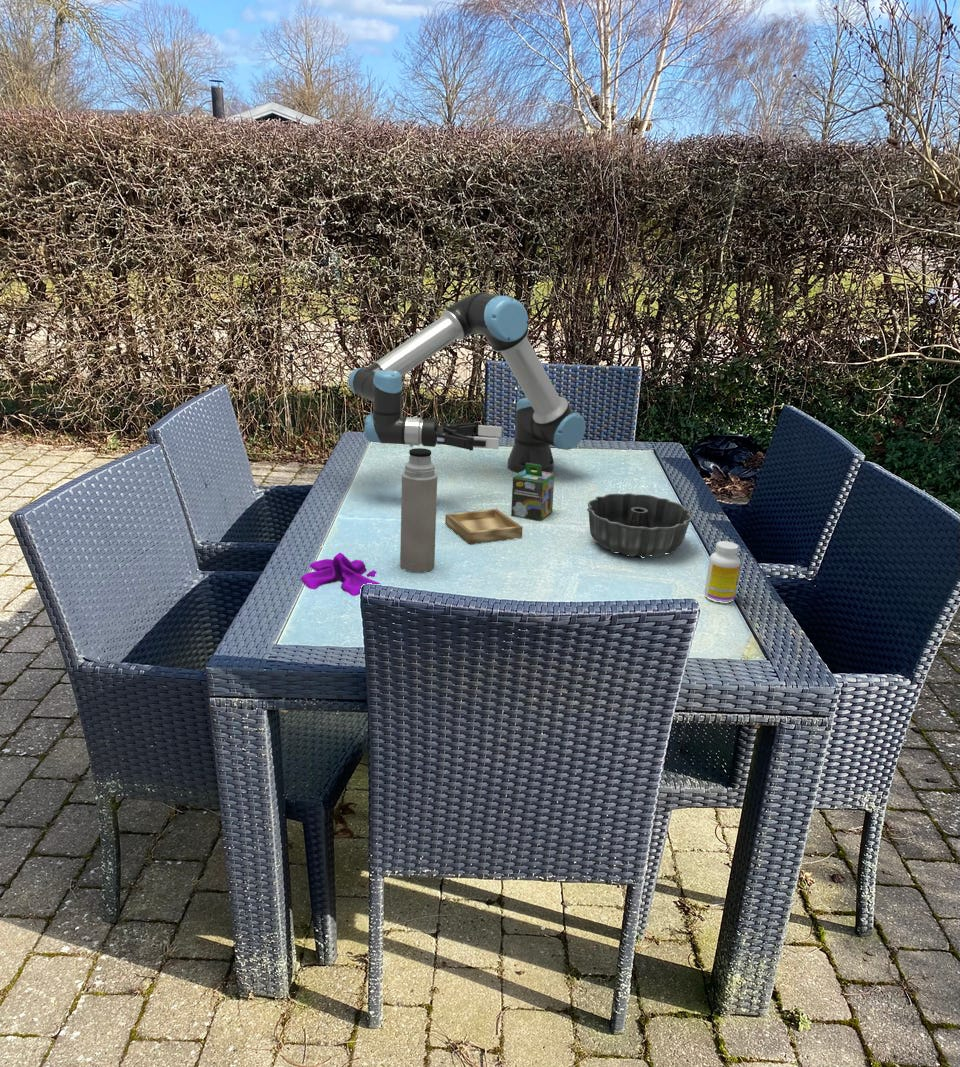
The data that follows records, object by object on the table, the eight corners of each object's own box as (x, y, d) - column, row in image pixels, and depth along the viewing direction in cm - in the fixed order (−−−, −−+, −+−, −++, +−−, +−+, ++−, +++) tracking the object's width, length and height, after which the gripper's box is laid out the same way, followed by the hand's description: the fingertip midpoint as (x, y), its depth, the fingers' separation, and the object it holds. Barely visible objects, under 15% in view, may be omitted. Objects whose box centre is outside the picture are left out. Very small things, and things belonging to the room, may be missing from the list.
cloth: (376, 599, 191) (377, 573, 189) (291, 594, 192) (290, 567, 190) (391, 561, 212) (391, 536, 210) (313, 556, 213) (313, 532, 210)
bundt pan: (679, 573, 213) (684, 533, 209) (572, 554, 221) (575, 516, 217) (694, 538, 236) (699, 502, 233) (596, 522, 244) (600, 487, 241)
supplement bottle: (738, 604, 197) (747, 550, 192) (709, 604, 196) (717, 550, 191) (728, 592, 203) (736, 539, 198) (700, 592, 202) (707, 539, 198)
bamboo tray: (495, 519, 242) (496, 508, 241) (521, 537, 229) (522, 527, 228) (445, 525, 236) (445, 514, 235) (469, 544, 223) (469, 533, 222)
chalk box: (552, 512, 250) (556, 461, 245) (540, 522, 242) (545, 469, 237) (522, 506, 253) (525, 456, 248) (509, 515, 245) (512, 464, 240)
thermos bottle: (408, 557, 213) (410, 443, 203) (439, 563, 211) (443, 448, 201) (394, 569, 206) (396, 451, 196) (426, 575, 204) (430, 456, 194)
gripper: (427, 434, 255) (501, 440, 254) (415, 457, 232) (496, 463, 230) (428, 408, 252) (503, 414, 251) (416, 429, 229) (498, 435, 228)
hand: (500, 437), depth 241 cm, fingers open, 13 cm apart
